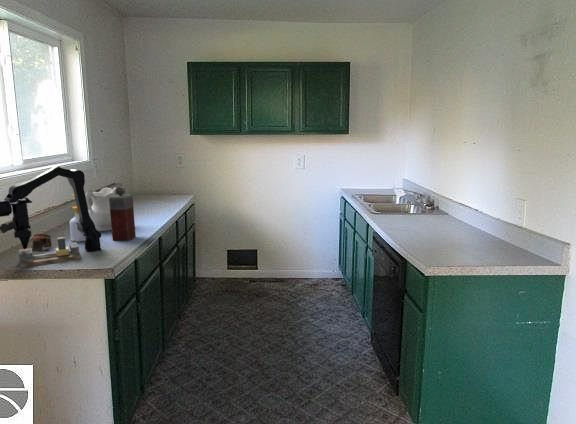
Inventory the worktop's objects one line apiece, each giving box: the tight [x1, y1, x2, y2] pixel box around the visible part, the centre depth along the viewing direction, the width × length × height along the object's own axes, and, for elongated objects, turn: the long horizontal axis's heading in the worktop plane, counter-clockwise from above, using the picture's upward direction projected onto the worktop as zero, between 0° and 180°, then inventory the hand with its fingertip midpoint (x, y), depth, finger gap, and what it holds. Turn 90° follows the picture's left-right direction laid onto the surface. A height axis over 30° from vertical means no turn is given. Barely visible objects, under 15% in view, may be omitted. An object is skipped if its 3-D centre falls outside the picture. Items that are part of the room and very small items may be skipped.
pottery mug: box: [30, 233, 52, 251], centre depth 224 cm, size 12×10×8 cm
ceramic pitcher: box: [85, 187, 118, 232], centre depth 261 cm, size 22×20×25 cm
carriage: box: [55, 236, 70, 256], centre depth 205 cm, size 5×5×8 cm
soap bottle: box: [68, 193, 85, 243], centre depth 237 cm, size 9×9×25 cm
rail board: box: [18, 241, 82, 268], centre depth 203 cm, size 24×11×6 cm, turn 121°
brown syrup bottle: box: [109, 186, 137, 242], centre depth 239 cm, size 9×11×28 cm
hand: (25, 248), depth 198 cm, fingers closed
